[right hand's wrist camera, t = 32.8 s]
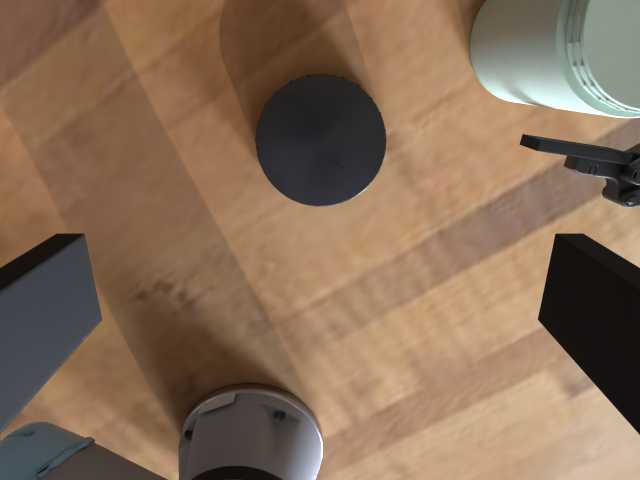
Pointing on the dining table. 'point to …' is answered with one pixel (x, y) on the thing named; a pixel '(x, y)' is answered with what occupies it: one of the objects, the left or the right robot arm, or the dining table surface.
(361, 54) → the dining table surface
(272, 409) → the right robot arm
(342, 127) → the lid
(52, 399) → the dining table surface
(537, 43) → the jar
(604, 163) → the left robot arm
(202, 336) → the dining table surface
